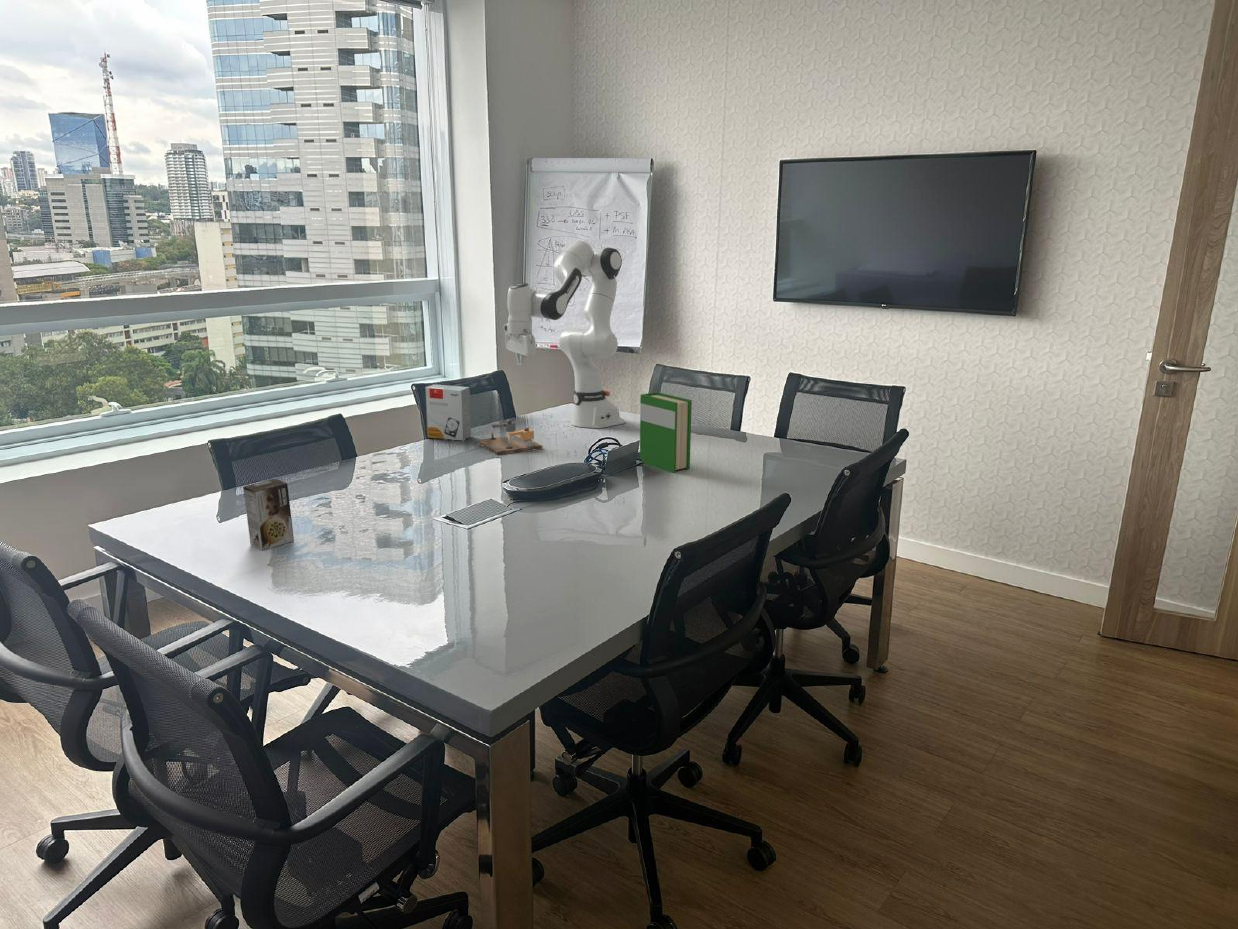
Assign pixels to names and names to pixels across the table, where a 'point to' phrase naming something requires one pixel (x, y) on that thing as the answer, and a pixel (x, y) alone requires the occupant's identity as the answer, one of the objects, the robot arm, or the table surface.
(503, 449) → the hole board
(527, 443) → the trammel beam
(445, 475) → the table surface
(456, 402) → the hard drive box
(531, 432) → the sliding head
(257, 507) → the cookie box
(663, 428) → the hardback book
